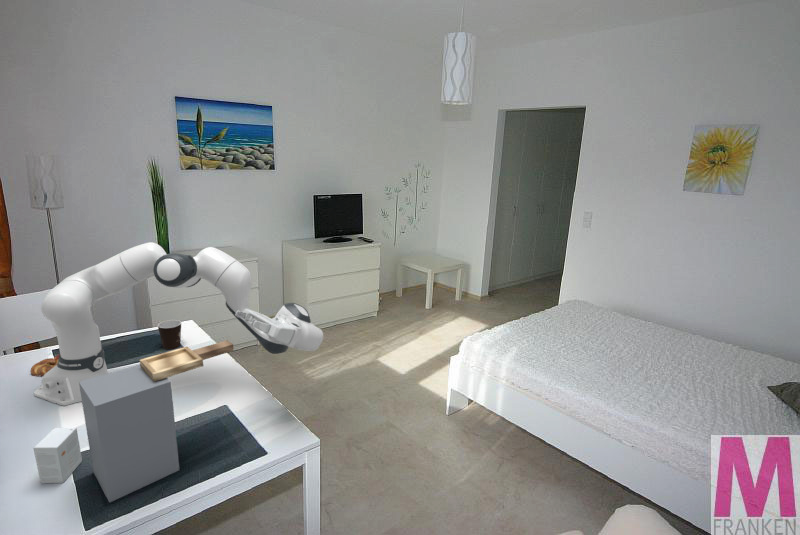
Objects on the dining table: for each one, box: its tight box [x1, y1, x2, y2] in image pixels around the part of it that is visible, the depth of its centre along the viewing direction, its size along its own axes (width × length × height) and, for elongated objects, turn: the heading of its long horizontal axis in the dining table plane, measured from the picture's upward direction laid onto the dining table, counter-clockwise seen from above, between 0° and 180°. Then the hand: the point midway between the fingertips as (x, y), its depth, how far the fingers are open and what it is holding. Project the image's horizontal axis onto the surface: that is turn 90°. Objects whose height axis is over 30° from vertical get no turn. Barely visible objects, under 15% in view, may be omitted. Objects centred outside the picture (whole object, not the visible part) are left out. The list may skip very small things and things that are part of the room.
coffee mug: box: [157, 319, 182, 351], centre depth 184 cm, size 12×9×10 cm
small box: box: [33, 427, 83, 484], centre depth 113 cm, size 8×6×10 cm
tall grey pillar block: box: [79, 364, 180, 503], centre depth 112 cm, size 16×14×26 cm
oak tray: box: [139, 340, 234, 382], centre depth 120 cm, size 22×10×2 cm, turn 137°
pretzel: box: [29, 356, 58, 378], centre depth 161 cm, size 12×11×4 cm
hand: (244, 318), depth 129 cm, fingers open, 8 cm apart
